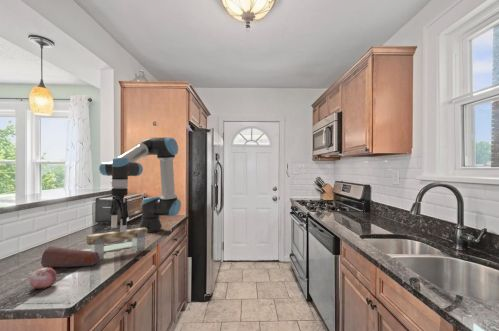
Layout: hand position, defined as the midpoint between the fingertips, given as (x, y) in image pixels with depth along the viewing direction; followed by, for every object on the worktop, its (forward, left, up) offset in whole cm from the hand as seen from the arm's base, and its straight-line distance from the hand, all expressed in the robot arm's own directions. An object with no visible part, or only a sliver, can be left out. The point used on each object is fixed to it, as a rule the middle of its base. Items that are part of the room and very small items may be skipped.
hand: (118, 229), depth 142 cm
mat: (0, -12, -12) cm, 17 cm away
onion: (+34, +24, -12) cm, 43 cm away
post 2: (-10, 0, -12) cm, 16 cm away
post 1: (+10, 0, -12) cm, 15 cm away
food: (+22, +6, -12) cm, 26 cm away
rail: (0, 0, -5) cm, 5 cm away
